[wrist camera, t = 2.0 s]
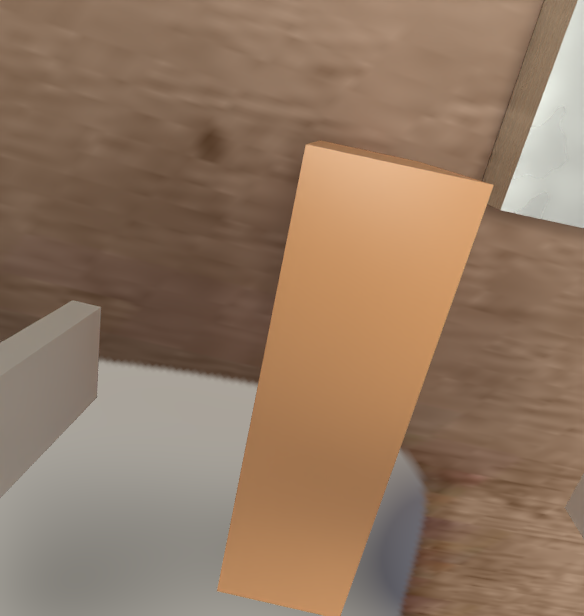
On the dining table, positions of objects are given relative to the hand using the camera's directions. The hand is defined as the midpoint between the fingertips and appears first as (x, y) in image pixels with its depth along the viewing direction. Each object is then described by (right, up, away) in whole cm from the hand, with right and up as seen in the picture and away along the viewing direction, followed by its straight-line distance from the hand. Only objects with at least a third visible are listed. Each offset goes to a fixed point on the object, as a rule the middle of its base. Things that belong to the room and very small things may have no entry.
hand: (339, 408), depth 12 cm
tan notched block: (+1, +4, +9) cm, 10 cm away
